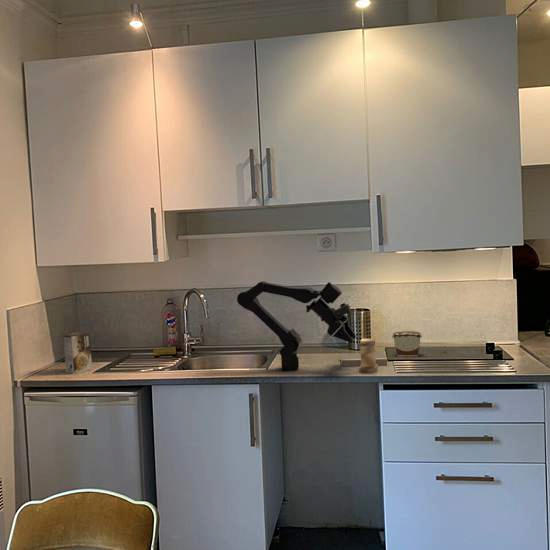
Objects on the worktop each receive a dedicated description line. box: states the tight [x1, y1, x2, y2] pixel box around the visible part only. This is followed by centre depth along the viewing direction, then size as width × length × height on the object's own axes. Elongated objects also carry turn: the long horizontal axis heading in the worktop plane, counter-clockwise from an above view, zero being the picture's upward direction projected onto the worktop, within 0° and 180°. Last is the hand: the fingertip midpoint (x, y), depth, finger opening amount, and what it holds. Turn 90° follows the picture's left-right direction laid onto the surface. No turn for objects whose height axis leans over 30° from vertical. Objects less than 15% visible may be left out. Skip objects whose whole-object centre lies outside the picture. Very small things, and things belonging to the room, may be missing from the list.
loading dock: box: [339, 352, 388, 368], centre depth 250 cm, size 18×13×3 cm
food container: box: [391, 330, 422, 355], centre depth 261 cm, size 12×6×10 cm, turn 74°
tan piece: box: [358, 338, 379, 373], centre depth 236 cm, size 6×7×12 cm
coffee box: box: [62, 331, 93, 375], centre depth 258 cm, size 9×6×16 cm
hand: (353, 339), depth 237 cm, fingers open, 9 cm apart
